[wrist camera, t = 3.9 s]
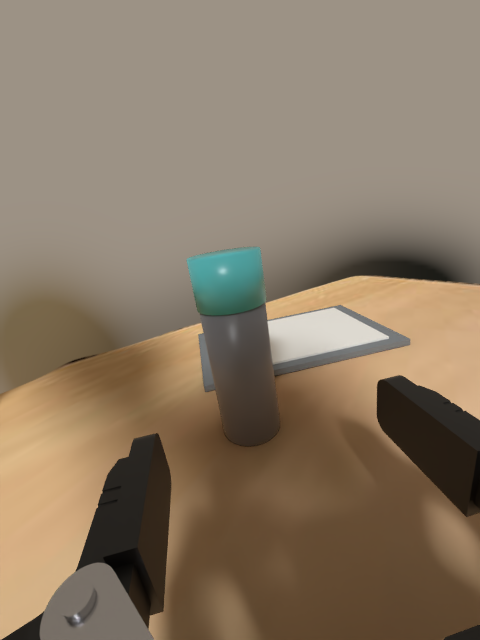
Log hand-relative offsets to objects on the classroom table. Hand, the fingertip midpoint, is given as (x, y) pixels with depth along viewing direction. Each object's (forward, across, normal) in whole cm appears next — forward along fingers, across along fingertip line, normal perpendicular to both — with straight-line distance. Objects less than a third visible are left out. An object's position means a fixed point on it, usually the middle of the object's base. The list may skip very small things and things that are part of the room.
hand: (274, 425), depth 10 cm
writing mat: (+20, -7, +7) cm, 22 cm away
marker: (+8, 0, +7) cm, 11 cm away
